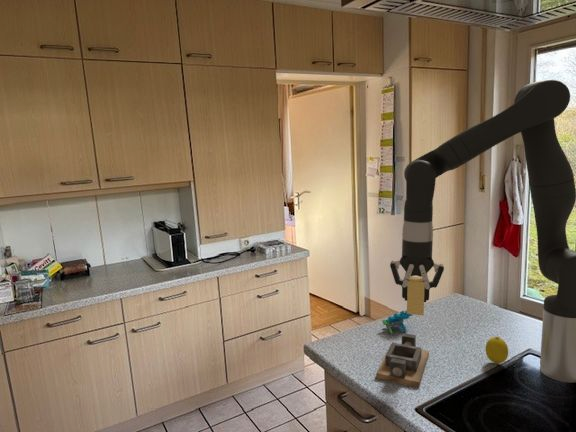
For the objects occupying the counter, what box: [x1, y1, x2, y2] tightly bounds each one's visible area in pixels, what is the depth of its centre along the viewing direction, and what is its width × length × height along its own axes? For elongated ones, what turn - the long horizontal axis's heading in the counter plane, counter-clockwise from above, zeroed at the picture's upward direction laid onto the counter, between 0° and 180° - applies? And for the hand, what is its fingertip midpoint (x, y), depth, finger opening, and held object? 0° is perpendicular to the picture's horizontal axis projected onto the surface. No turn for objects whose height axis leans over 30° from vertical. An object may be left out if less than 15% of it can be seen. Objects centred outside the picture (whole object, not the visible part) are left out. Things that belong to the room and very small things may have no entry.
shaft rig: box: [375, 332, 430, 388], centre depth 111 cm, size 11×17×6 cm, turn 153°
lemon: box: [485, 336, 509, 365], centre depth 110 cm, size 6×6×8 cm
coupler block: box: [406, 276, 425, 316], centre depth 106 cm, size 4×4×9 cm
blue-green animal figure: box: [382, 309, 413, 334], centre depth 134 cm, size 11×6×10 cm
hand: (415, 300), depth 107 cm, fingers closed on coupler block, 4 cm apart
